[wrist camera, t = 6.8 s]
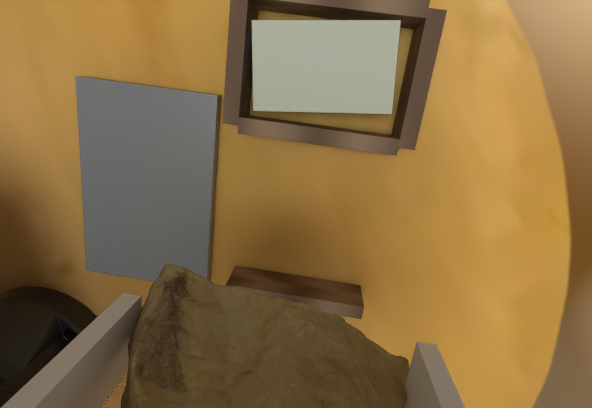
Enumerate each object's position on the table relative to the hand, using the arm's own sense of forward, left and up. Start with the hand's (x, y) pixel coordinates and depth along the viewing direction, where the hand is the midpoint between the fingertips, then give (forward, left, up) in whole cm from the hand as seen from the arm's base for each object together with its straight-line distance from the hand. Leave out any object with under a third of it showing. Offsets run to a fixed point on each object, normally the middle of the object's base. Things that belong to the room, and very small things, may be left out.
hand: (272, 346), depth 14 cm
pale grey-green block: (0, +12, -18) cm, 22 cm away
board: (-14, 0, -18) cm, 23 cm away
